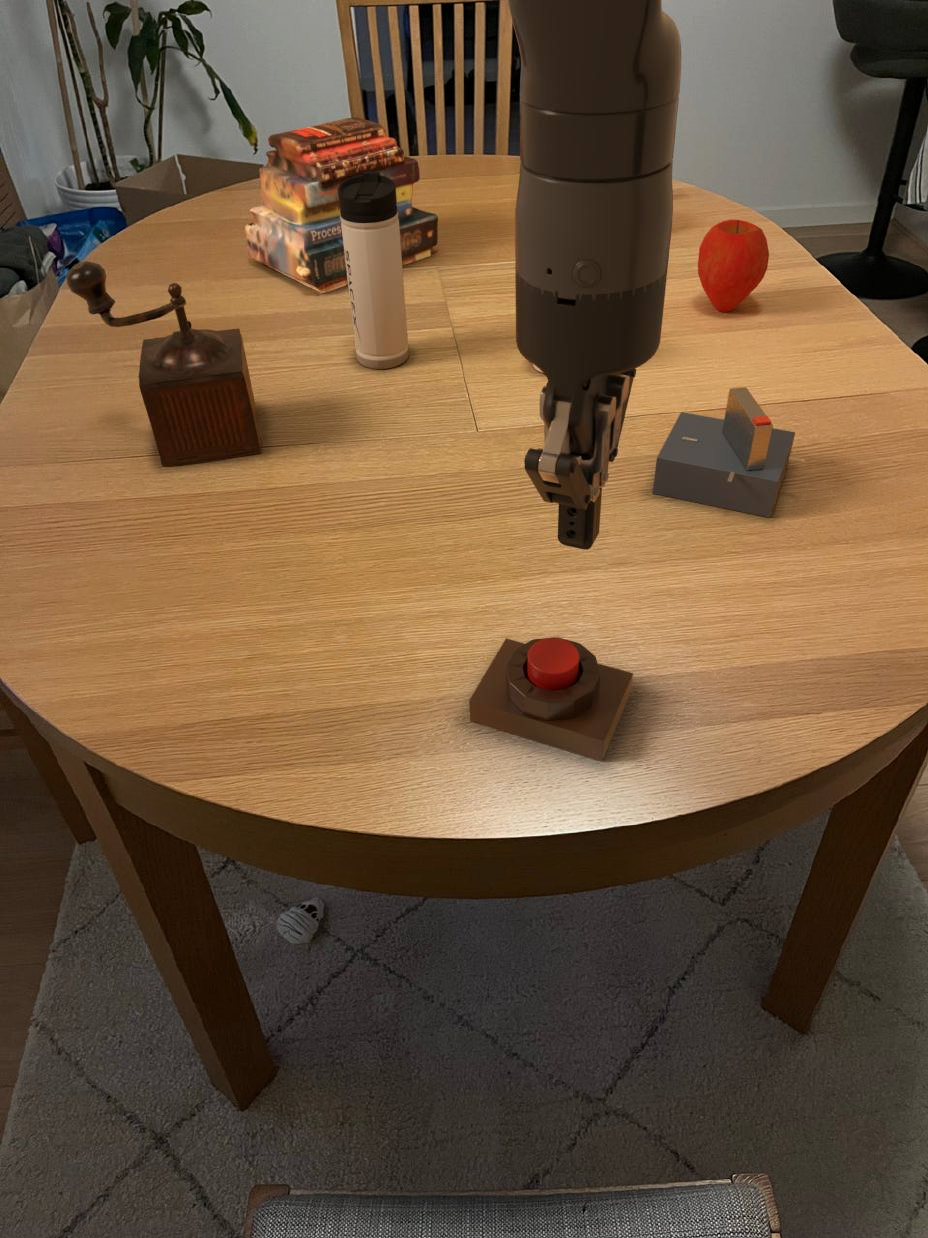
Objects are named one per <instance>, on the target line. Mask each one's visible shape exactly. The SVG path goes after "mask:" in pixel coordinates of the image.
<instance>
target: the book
mask: <svg viewBox="0 0 928 1238" xmlns="http://www.w3.org/2000/svg"><path fill="white" fill-rule="evenodd" d="M267 141H268V145H269V147H271V148H274V150H269V151H266V152H265V156H266V157H267V163H266V165H264V166H261V167H260V168H259V171H258V173H259V180H260V187H261V190H260V200H261V205H259V206H255V207H251V208H250V209H249V211H250V214H251V215H252V216H253V222H251V223H248V224H246V225H245V226H244V233H245V239H246V240H245V241H246V251H247V255H248V257H249V258H251V259H252V260H255V261H257V262H260V263H261V264H263V265H265V266H267V267H269V268H271V269H273V270H275V271H277V272H279V273H281V274H282V275H284V276H286V277H288V278H290V279H292V280H294V281H296V282H298V283H300V284H302V285H303V286H305V287H307V288H310V289H313V290H314V291H316V292H318V293H321V294H326V293H329V292H332V291H335V290H337V289H340V288H343V287H346V286H348V279H347V270H346V262H345V253H344V244H343V236H342V227H341V219H340V205H339V197H338V187H339V186H340V184H341V183H342V182H344V181H345V180H347V179H350V178H352V177H356V176H361V175H363V172H379V174H380V175H382V176H386V177H388V178H390V179H392V180H393V181H394V182H395V185H396V198H397V203H396V205H397V210H398V219H399V230H400V243H401V256H402V267H403V266H405V265H408V264H411V263H414V262H417V261H419V260H422V259H425V258H428V257H431V256H432V249H433V248H434V247H436V246H437V245H438V243H439V236H438V232H439V231H438V228H439V226H438V225H439V216H438V215H437V214H436V213H432V212H430V211H429V212H428V211H425V210H421V209H419V208H418V207H417V208H416V207H414V206H413V203H412V202H413V201H412V200H413V194H414V187H413V186H414V184H415V183H418V182H419V181H420V179H421V177H420V176H421V175H420V166H419V162H418V161H417V159H415V158H413V157H409V156H405V152H404V149H403V148H402V147H399V146H398V144H397V141H396V139H395V138H394V137H389V135H388V134H387V133H386V128H385V126H383V125H382V124H380V123H377V122H374V121H372V120H368V119H364V118H361V117H354V116H353V117H347V118H342V119H338V120H334V121H330V122H329V121H328V122H324V123H320V124H316V125H312V126H308V127H302V128H298V129H293V130H289V131H283V132H280V133H274V134H270V135H269V136H268V139H267Z"/></svg>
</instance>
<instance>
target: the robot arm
mask: <svg viewBox="0 0 928 1238" xmlns="http://www.w3.org/2000/svg"><path fill="white" fill-rule="evenodd" d="M507 3H508V8H509V9H508V10H509V12H510V17H511V21H512V26H513V30H514V33H515V37H516V41H517V45H518V50H519V55H520V63H521V64H520V79H519V160H520V163H519V177H518V184H517V185H518V186H517V194H516V200H515V201H516V202H515V211H514V212H515V214H514V246H515V247H514V255H515V256H514V258H515V259H514V262H515V263H514V264H515V265H514V267H515V269H514V273H515V275H514V276H515V278H514V279H515V283H514V284H515V343H516V347H517V350H518V351H519V353H520V354H521V357H523V358H524V359H525V360H526V361H527V362H529V363H530V364H532V365H533V364H534V365H535V366H537V367H538V368H539V369H540V370H541V371H542V372H543V373H542V374H544V376H545V377H546V380H547V382H546V384H545V385H544V386H543V387H542V389H541V391H540V395H539V417H540V419H541V421H542V422H543V427H544V428H543V430H544V431H543V433H544V435H543V436H544V437H543V441H544V446H543V448H542V447H541V448H540V447H538V448H532V447H530V448H529V449H528V450H527V452H526V454H525V456H524V459H523V460H524V463H523V464H524V471H525V473H526V475H528V478H529V479H530V480H531V482H532V484H533V485H534V487H535V489H536V491H537V493H538V494H539V496H540V497H541V499H542V500H543V502H544V503H549V504H553V503H554V504H558V509H557V510H558V513H557V514H558V515H557V540H558V542H559V543H560V544H561V545H563V546H566V547H571V548H576V549H580V550H590V549H592V547H593V545H594V543H595V541H596V540H597V538H598V536H599V534H600V528H601V527H600V526H601V510H602V496H603V495H602V494H603V488H604V487H605V485H606V483H608V480H609V464H610V463H614V462H615V459H616V457H617V456H618V452H619V445H620V439H621V434H622V430H623V426H624V421H625V417H626V413H627V410H628V405H629V404H628V403H629V401H630V395H631V391H632V387H633V384H634V383H633V382H634V378H636V376H637V375H636V374H637V368H639V367H641V366H643V365H644V364H646V363H647V362H649V361H650V360H651V359H652V358H653V356H655V354H656V353H657V352H658V350H659V347H660V344H661V338H662V327H663V317H664V307H665V300H666V299H665V298H666V289H667V279H668V269H669V258H670V248H671V239H672V228H673V219H674V218H673V216H674V191H673V167H674V166H673V165H674V163H673V162H674V160H673V159H674V151H675V141H676V130H677V121H678V110H679V101H680V92H681V78H682V42H681V36H680V32H679V29H678V26H677V24H676V22H675V21H674V20H673V18H671V17H670V15H669V14H668V13H666V12H665V11H663V4H662V3H663V1H662V0H507Z"/></svg>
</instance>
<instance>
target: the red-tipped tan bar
mask: <svg viewBox="0 0 928 1238" xmlns="http://www.w3.org/2000/svg"><path fill="white" fill-rule="evenodd" d="M723 419H724V424H723V430H722V431H723V433H724V435H725V436H726V438H727V439H728V441H729V443H730V444H731V446H732V447H733V449H734V451H735V452H736V454H737V455H738V457H739V459H740V460H741V462H742V463H743V465H744V467H745V468H746V470H758V469H764V466H765V461H766V456H767V452H768V447H769V442H770V438H771V433H772V428H774V424H773V422H772V421H771V418H769V416H768V415H766V413H765V411H764V410H763V409H762V407H761V406H760V404H758V401H757V400H756V399H755V397H754V396H753V395H752V393H751V392H750V390H749V389H748V388H747V387H746V386H744V387H743V386H742V387H731V388H729V390H728V396H727V402H726V407H725V413H724V418H723Z"/></svg>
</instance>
